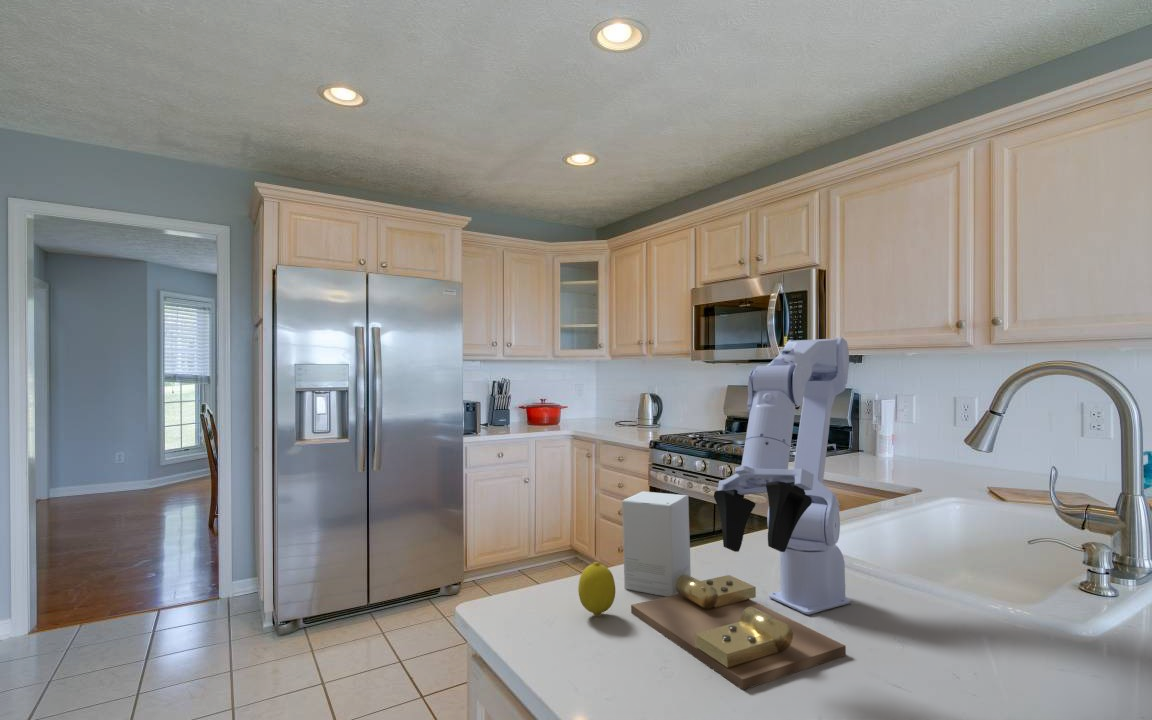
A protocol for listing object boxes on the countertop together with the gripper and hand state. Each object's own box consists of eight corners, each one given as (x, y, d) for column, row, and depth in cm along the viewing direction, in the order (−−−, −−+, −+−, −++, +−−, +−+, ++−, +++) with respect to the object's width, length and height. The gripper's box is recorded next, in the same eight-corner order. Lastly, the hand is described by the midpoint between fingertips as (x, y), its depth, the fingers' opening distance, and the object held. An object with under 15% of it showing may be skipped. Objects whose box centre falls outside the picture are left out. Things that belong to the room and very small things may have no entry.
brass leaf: (758, 628, 78) (758, 604, 78) (793, 647, 72) (792, 621, 72) (695, 646, 73) (694, 620, 73) (727, 667, 68) (726, 640, 68)
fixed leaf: (723, 582, 95) (723, 562, 95) (755, 597, 88) (755, 576, 88) (670, 593, 90) (670, 573, 90) (700, 611, 84) (700, 588, 84)
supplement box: (692, 581, 100) (690, 494, 100) (673, 599, 92) (671, 505, 92) (644, 572, 104) (642, 489, 105) (622, 589, 96) (620, 499, 97)
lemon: (613, 625, 83) (612, 569, 83) (575, 622, 84) (574, 567, 84) (618, 609, 88) (617, 557, 88) (582, 607, 89) (581, 555, 89)
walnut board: (719, 592, 94) (719, 584, 94) (845, 655, 73) (845, 645, 73) (631, 612, 87) (631, 604, 87) (742, 690, 65) (742, 679, 65)
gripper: (707, 443, 81) (689, 539, 75) (788, 424, 69) (773, 537, 63) (745, 462, 83) (730, 556, 77) (829, 447, 71) (819, 557, 65)
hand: (752, 549), depth 70 cm, fingers open, 7 cm apart
